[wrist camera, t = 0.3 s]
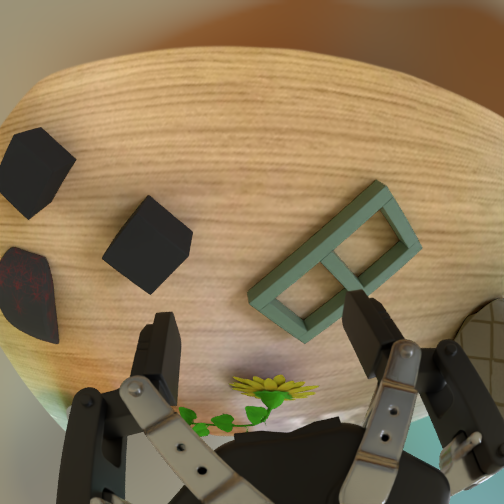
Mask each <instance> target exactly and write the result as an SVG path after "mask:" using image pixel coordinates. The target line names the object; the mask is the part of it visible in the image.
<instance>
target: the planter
mask: <svg viewBox="0 0 504 504" xmlns="http://www.w3.org/2000/svg"><path fill="white" fill-rule="evenodd" d="M454 341H455V342H457V343H458V344H459V345H460V346H461V347H462V349H463V350H464V352H465V353H466V355H467V356H468V358H469V360H470V361H471V363H472V364H473V366H474V368H475V369H476V371H477V372H478V374H479V376H480V377H481V379H482V381H483V383H484V384H485V386H486V388H487V389H488V391H489V393H490V395H491V397H492V398H493V400H494V402H495V404H496V406H497V408H498V409H499V411H500V413H501V415H502V417H503V419H504V298H500V299H497V300H494V301H492V302H491V303H489V304H488V305H486V306H485V307H484V308H483V309H481V310H480V311H479V312H478V313H476V314H474V315H469V316H468V317H467V318H466V319H465V321H464V323H463V325H462V327H461V328H460V330H459V332H458V334H457V336H456V338H455V339H454Z"/></svg>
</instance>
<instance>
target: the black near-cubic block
mask: <svg viewBox="0 0 504 504" xmlns="http://www.w3.org/2000/svg"><path fill="white" fill-rule="evenodd" d="M192 235H193V232H192V231H191V230H190V229H189V228H188V227H186V226H185V225H184V224H183V223H182V222H180V221H179V220H178V219H177V218H176V217H174V216H173V215H172V214H171V213H170V212H168V211H167V210H166V209H165V208H164V207H162V206H161V205H160V204H159V203H158V202H157V201H155V200H154V199H153V198H152V197H151V196H149V195H148V196H147V197H146V199H145V200H144V201H143V202H142V203H141V205H140V206H139V207H138V208H137V209H136V211H135V212H134V213H133V214H132V216H131V217H130V218H129V219H128V221H127V222H126V223H125V224H124V226H123V227H122V228H121V230H120V231H119V232H118V234H117V235H116V236H115V238H114V239H113V241H112V242H111V244H110V246H109V247H108V249H107V250H106V252H105V253H104V255H103V257H102V259H103V260H104V261H105V262H107V263H108V264H109V265H110V266H112V267H113V268H114V269H116V270H117V271H118V272H120V273H121V274H122V275H124V276H125V277H126V278H128V279H129V280H130V281H132V282H133V283H134V284H136V285H137V286H139V287H140V288H141V289H143V290H144V291H145V292H147V293H148V294H150V295H151V294H152V293H153V292H154V291H155V290H156V289H157V288H158V287H159V286H160V285H161V284H162V283H163V282H164V281H165V280H166V279H167V278H168V277H169V276H170V275H171V274H172V273H173V272H174V271H175V270H176V269H177V268H178V267H179V266H180V265H181V264H182V263H183V261H184V260H185V259H186V258H187V257H188V256H189V252H190V246H191V240H192Z"/></svg>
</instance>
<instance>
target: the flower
mask: <svg viewBox="0 0 504 504" xmlns="http://www.w3.org/2000/svg"><path fill="white" fill-rule="evenodd" d="M233 378H234V379H236V380H237V381H239V382H241V383H243V384H240V383H235V382H233V383H234V384H229V385H232V386H234V387H237V388H233V390H238V391H243V392H248V393H241V394H244V395H247V396H252V397H255V398H258V399H261V400H262V402H263V403H264V404H265V405H266V406H267V407H268V409H267V410H266V409H265V408H263V407H254V406H246V407H245V410H246V414H247V417H248V419H249V421H251V423H252V424H249V425H234V424H232V421H233V420H234V418H233V417H232V416H231V415H228V414H223V415H220V416H216V417H214V418H212V419H211V421H212V422H213V423H214V424H205V423H194V421H193V419H196V418H197V416H196V413H195V412H194V411H192V410H190V409H187V408H184V407H179V411H180V415H181V417H182V418H183V419H184V420H185V421H186V422H187V423H188V425H189V426H190V425H191V424H196V425H195V426H194V427H193V428H192V429H193V430H194V431H195V432H196V433H197V434H198V435H199V436H200V437H202V436H208V434H209V430H208V429H207V427H208V426H209V425H210V426H217V427H218V428H219V429H221V430H223V431H226V432H230V431H232V429H233V427H246V426H255V425H257V424H259V423H262V422H265V421H266V419H267V418H268V416H269V414H270V412H271V410H272V409H275V408H277V407H278V406H280V405H281V404H282V403H283V401H284V400H285V401H286V400H295V399H290V398H307V395H314V394H315V392H304V393H298V392H303V391H308V390H311V389H314V388H317V387H319V386H305V387H301V386H303V385H304V384H305V382H297V383H294V381H289V382H286V383H285V381H286V379H285V378H284V376H283V375H277V376H275V377H274V379H273V380H272V379H269V378H267V379H266V380H263V379H261V378H259V377H256V376H254V377H253V381H252V380H249V379H242V378H238V377H234V376H233ZM244 384H245V385H244ZM247 385H248V386H247ZM294 393H296V394H294ZM261 418H262V419H261ZM264 420H265V421H264ZM192 422H193V423H192ZM265 424H266V423H265ZM206 425H208V426H207V427H206ZM246 428H247V427H246ZM248 428H249V427H248ZM247 430H248V429H247ZM247 432H248V431H247Z"/></svg>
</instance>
